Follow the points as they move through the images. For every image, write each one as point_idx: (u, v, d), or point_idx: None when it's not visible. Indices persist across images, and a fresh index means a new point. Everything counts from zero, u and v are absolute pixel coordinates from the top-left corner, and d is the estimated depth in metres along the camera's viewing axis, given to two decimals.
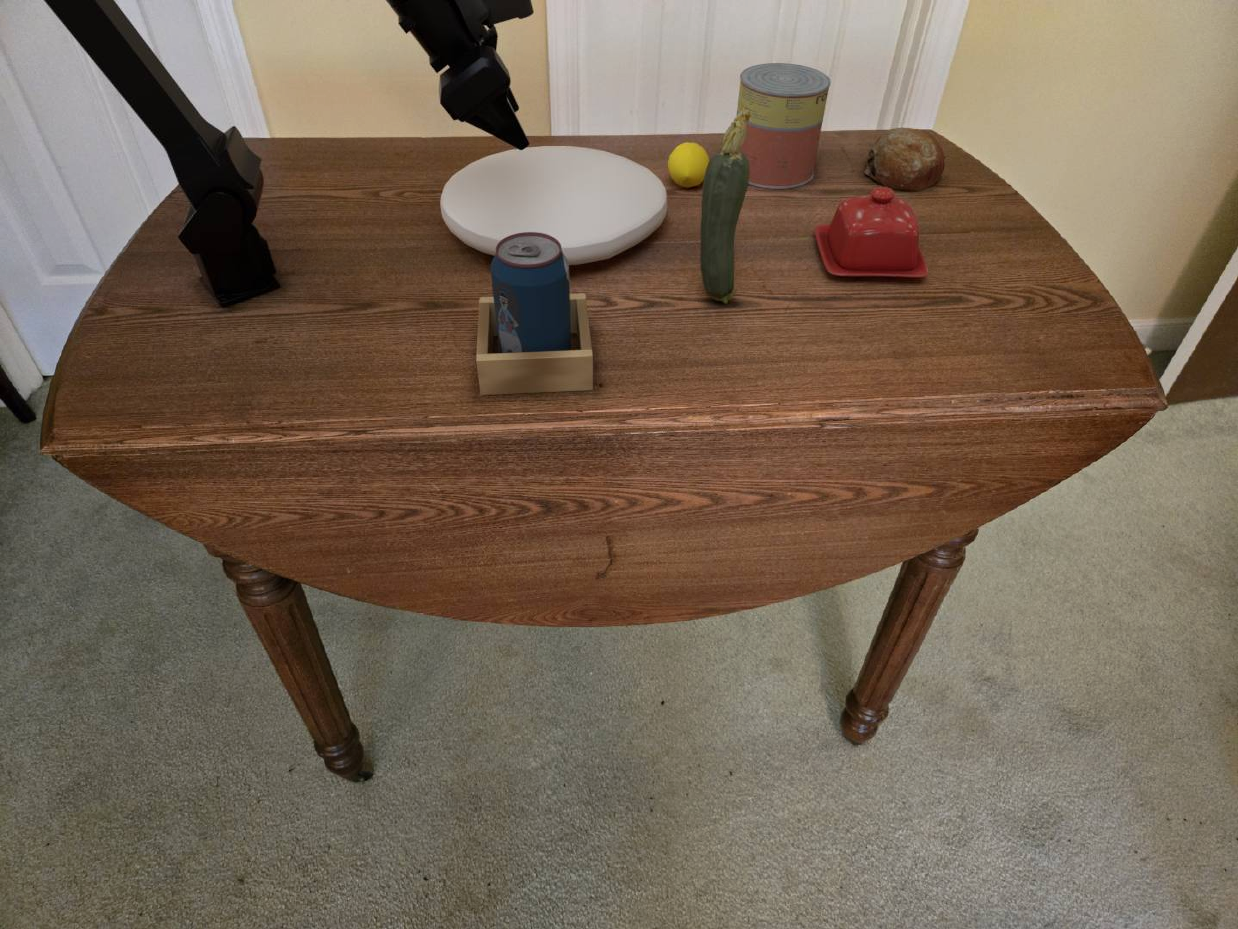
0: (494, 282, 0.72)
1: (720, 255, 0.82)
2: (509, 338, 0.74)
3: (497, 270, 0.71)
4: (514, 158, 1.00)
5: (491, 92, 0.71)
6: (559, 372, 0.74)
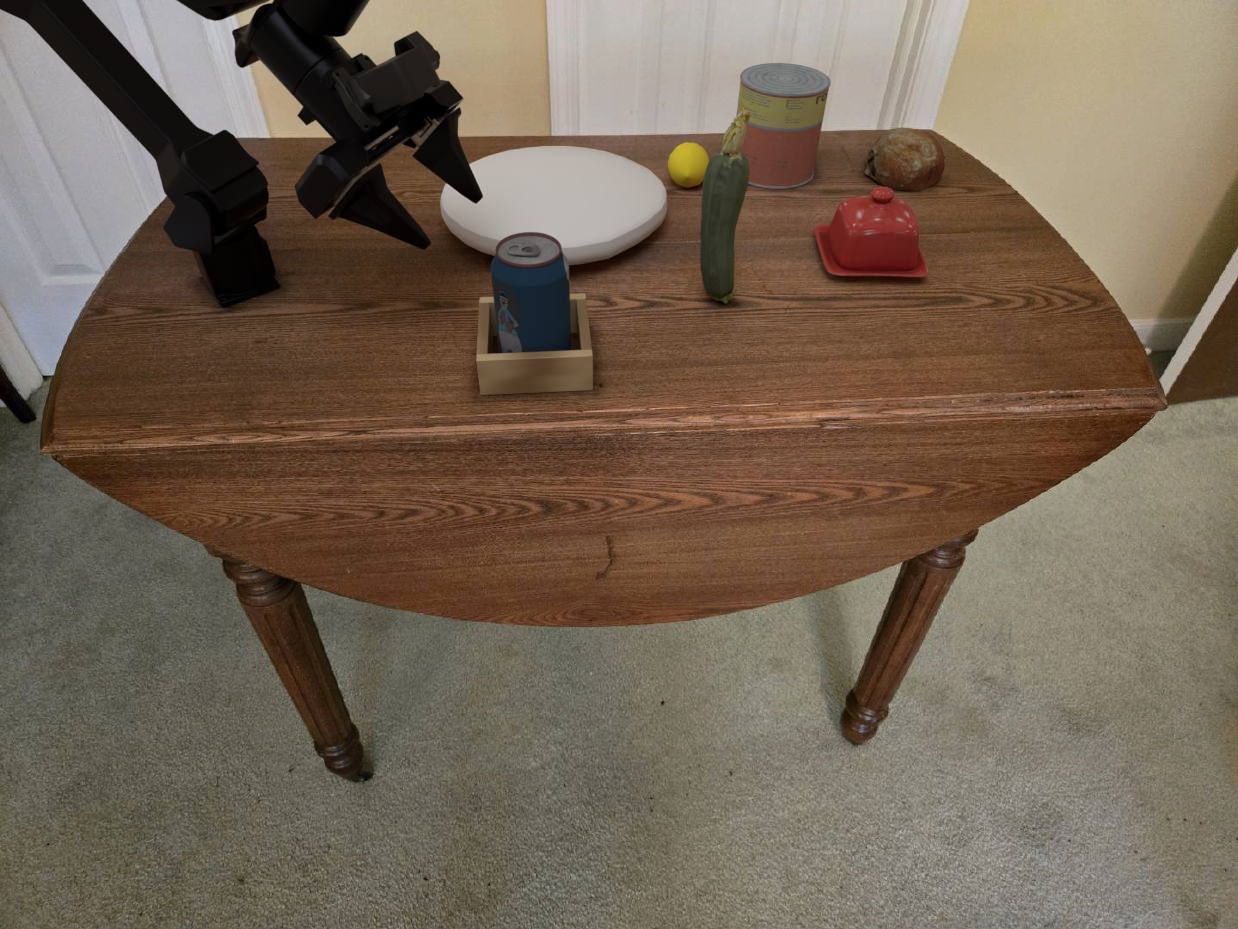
0: (494, 282, 0.72)
1: (720, 255, 0.82)
2: (509, 337, 0.74)
3: (497, 270, 0.71)
4: (514, 158, 1.00)
5: (333, 191, 0.63)
6: (559, 372, 0.74)
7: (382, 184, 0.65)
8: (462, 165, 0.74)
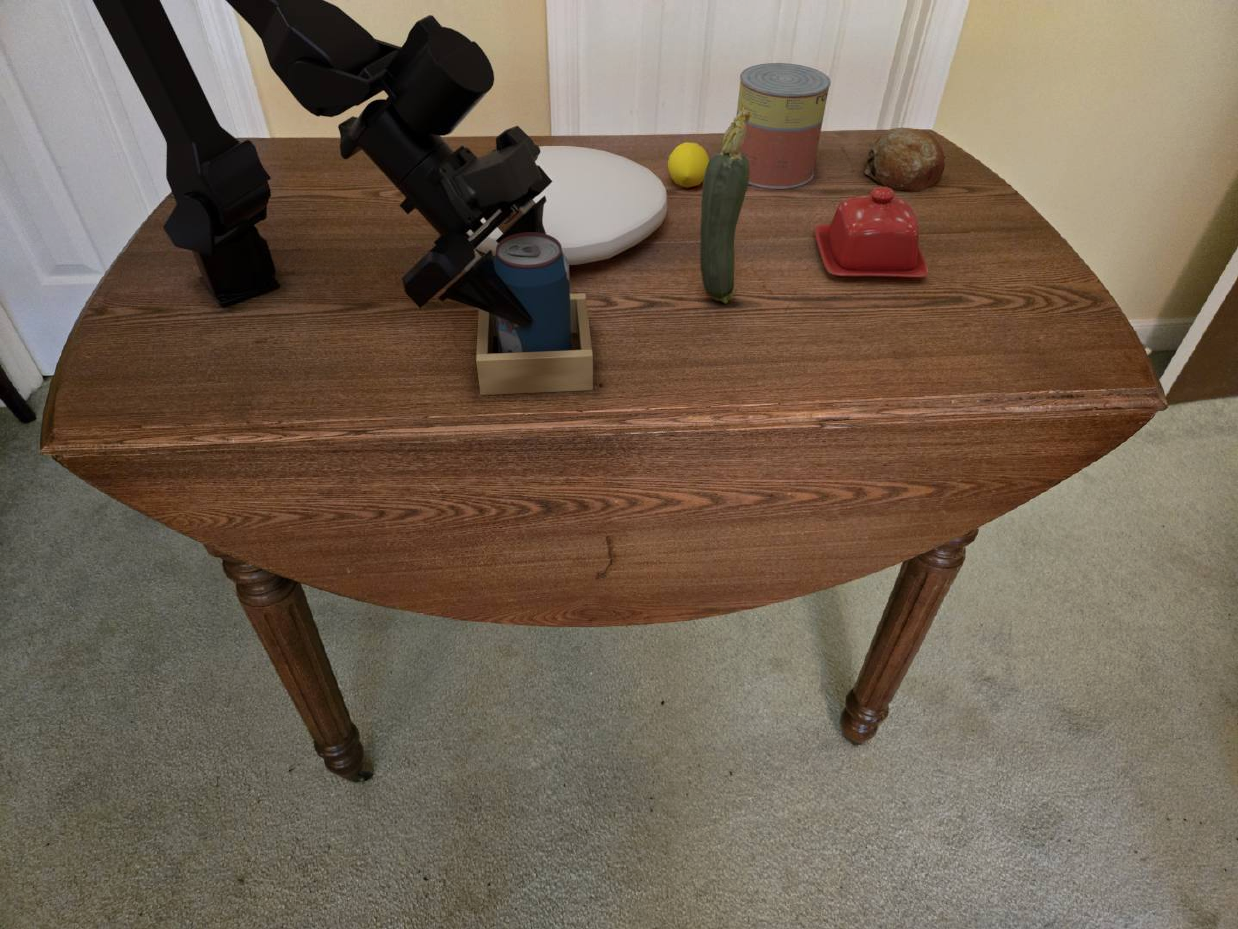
0: None
1: (720, 255, 0.82)
2: (509, 338, 0.74)
3: (497, 270, 0.70)
4: None
5: (442, 286, 0.65)
6: (559, 372, 0.74)
7: (491, 269, 0.68)
8: None
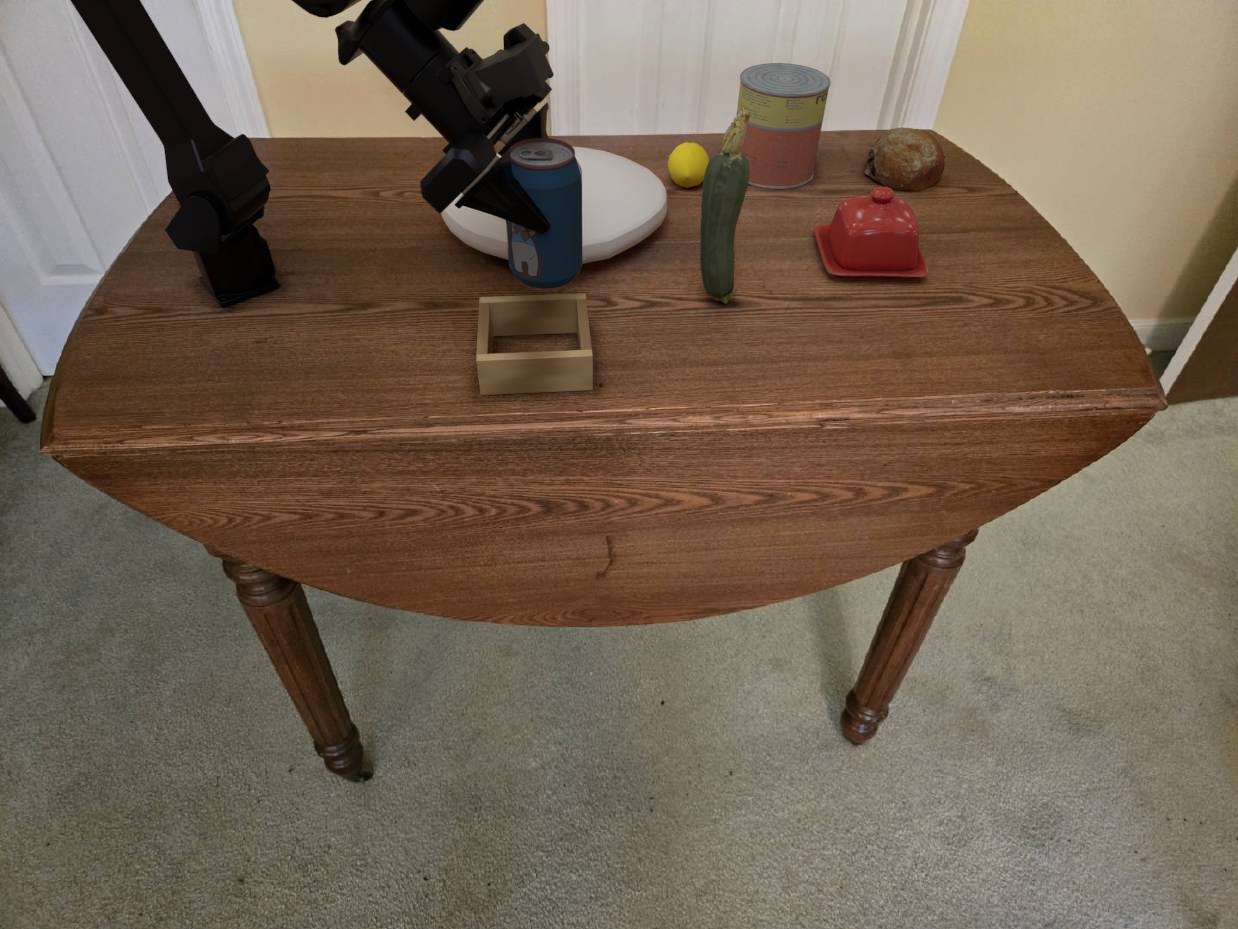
0: None
1: (720, 255, 0.82)
2: (524, 248, 0.73)
3: None
4: None
5: (466, 185, 0.63)
6: (559, 372, 0.74)
7: (509, 170, 0.67)
8: None
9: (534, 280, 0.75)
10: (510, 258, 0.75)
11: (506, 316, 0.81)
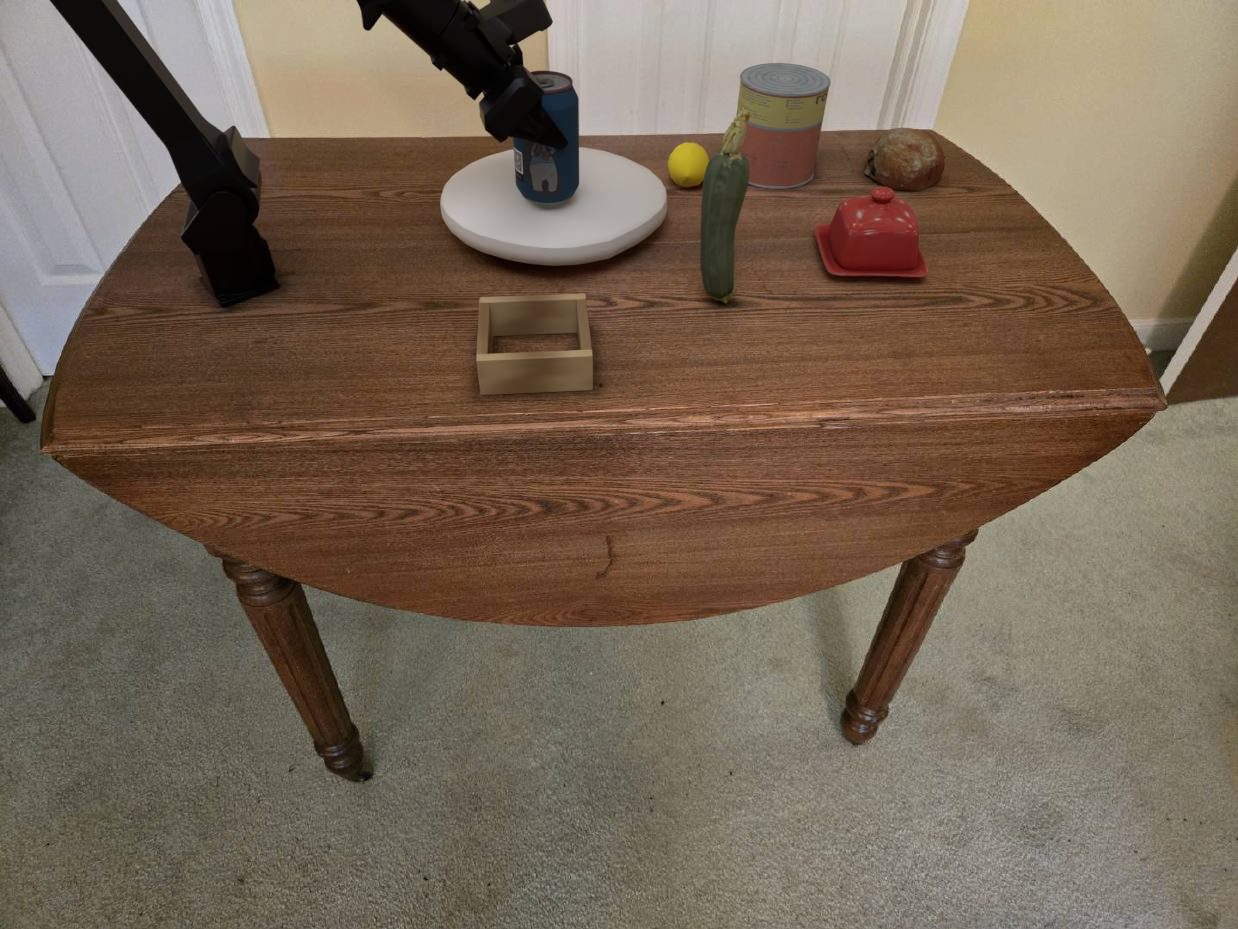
0: None
1: (720, 255, 0.82)
2: (545, 167, 0.85)
3: None
4: None
5: (530, 109, 0.74)
6: (559, 372, 0.74)
7: None
8: None
9: (554, 195, 0.87)
10: (526, 182, 0.86)
11: (506, 316, 0.81)
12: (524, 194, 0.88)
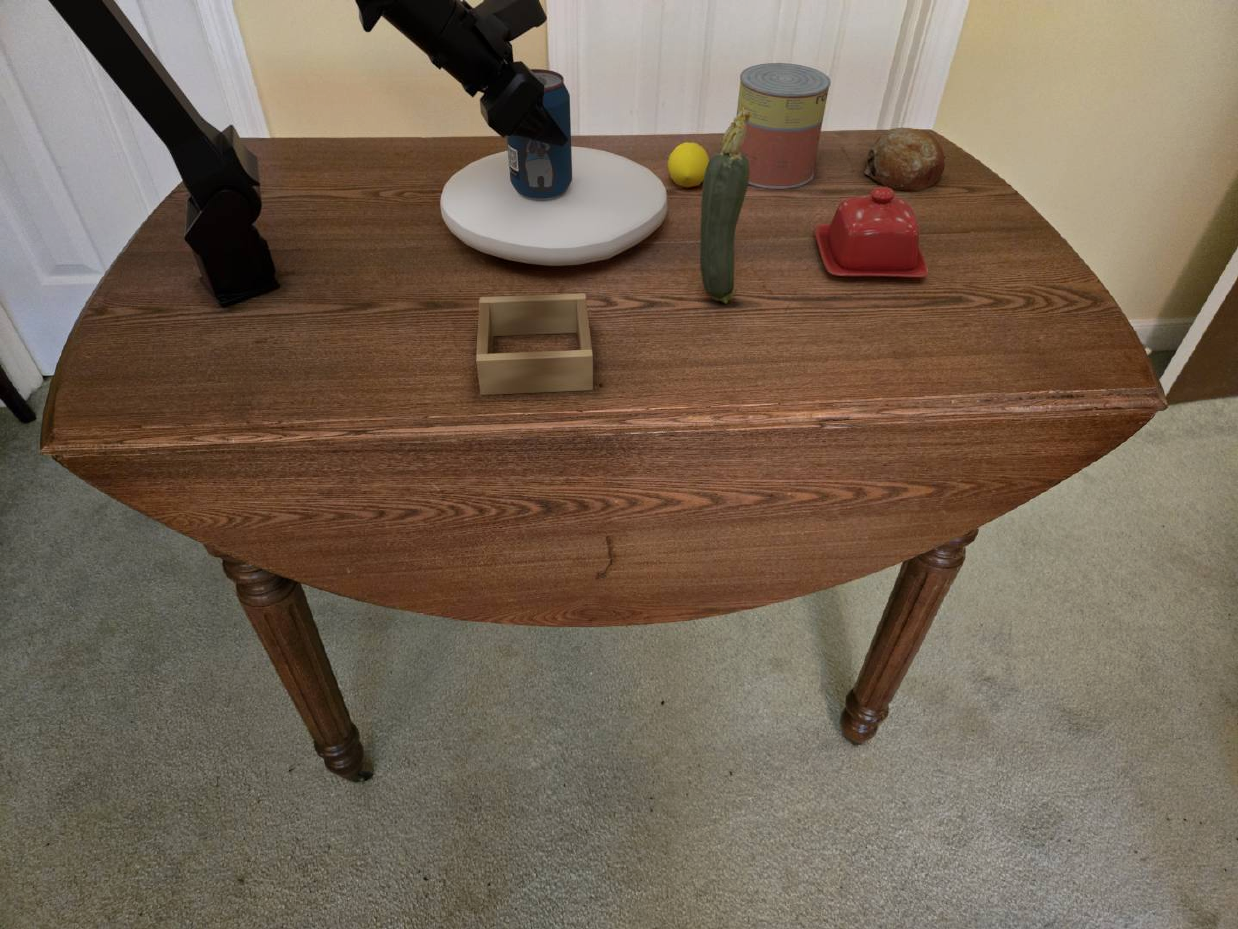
0: None
1: (720, 255, 0.82)
2: (540, 164, 0.87)
3: None
4: None
5: (532, 103, 0.76)
6: (559, 372, 0.74)
7: None
8: None
9: (549, 190, 0.89)
10: (522, 179, 0.89)
11: (506, 316, 0.81)
12: (520, 191, 0.90)
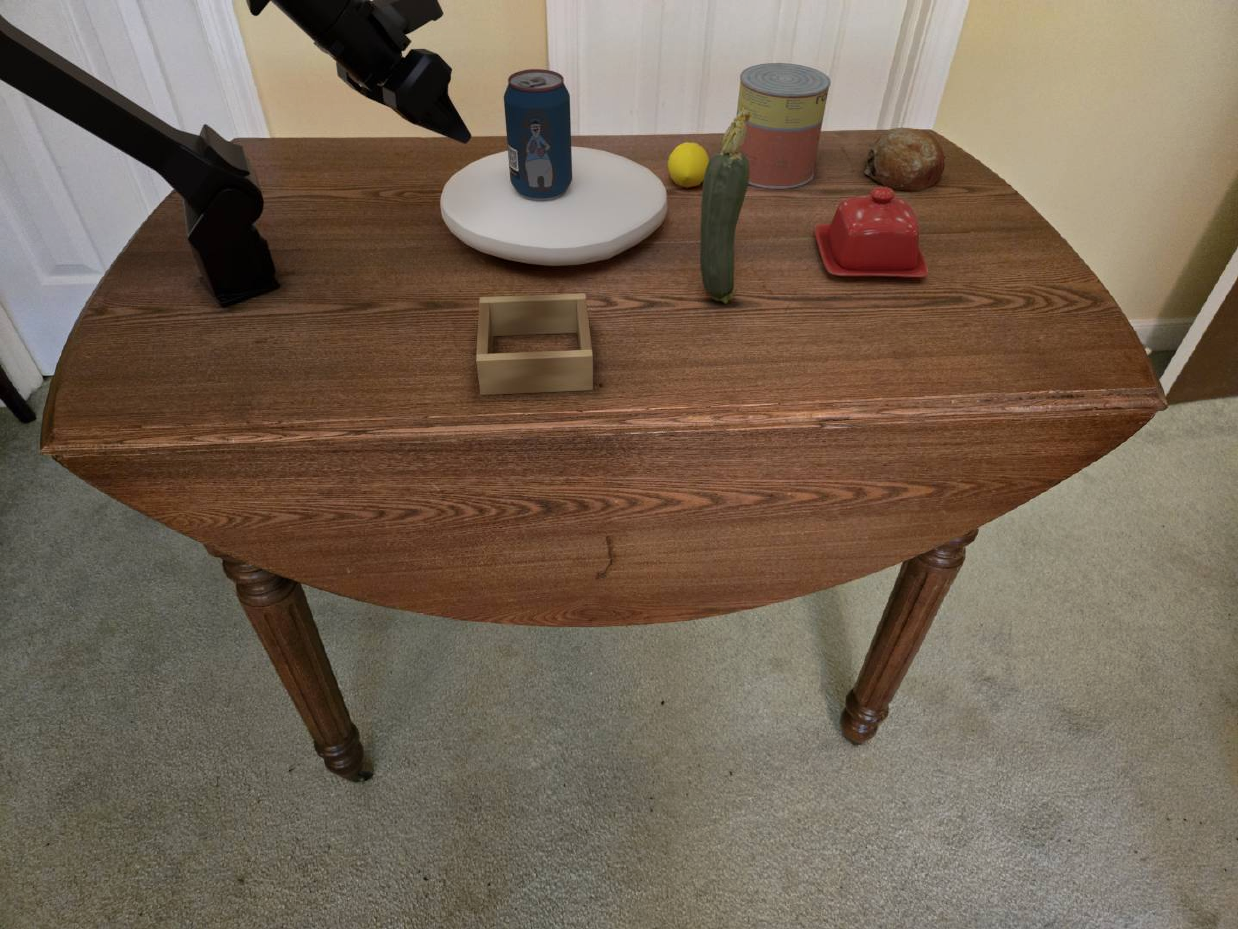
0: (523, 114, 0.83)
1: (720, 255, 0.82)
2: (540, 164, 0.87)
3: (526, 101, 0.83)
4: None
5: (440, 85, 0.75)
6: (559, 372, 0.74)
7: None
8: None
9: (549, 190, 0.89)
10: (522, 179, 0.89)
11: (506, 316, 0.81)
12: (520, 191, 0.90)
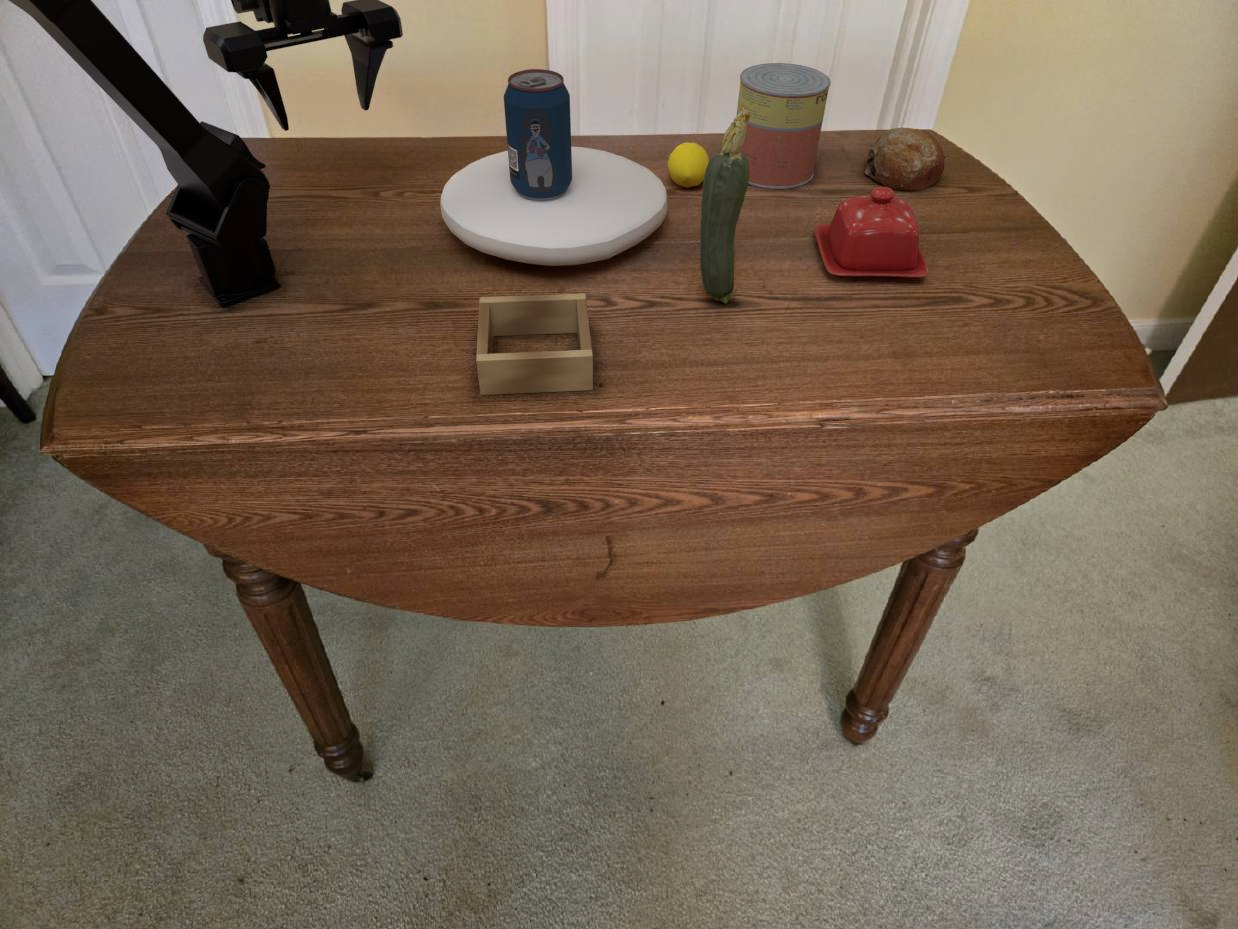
0: (523, 114, 0.83)
1: (720, 255, 0.82)
2: (540, 164, 0.87)
3: (526, 101, 0.83)
4: None
5: None
6: (559, 372, 0.74)
7: None
8: None
9: (549, 190, 0.89)
10: (522, 179, 0.89)
11: (506, 316, 0.81)
12: (520, 191, 0.90)
